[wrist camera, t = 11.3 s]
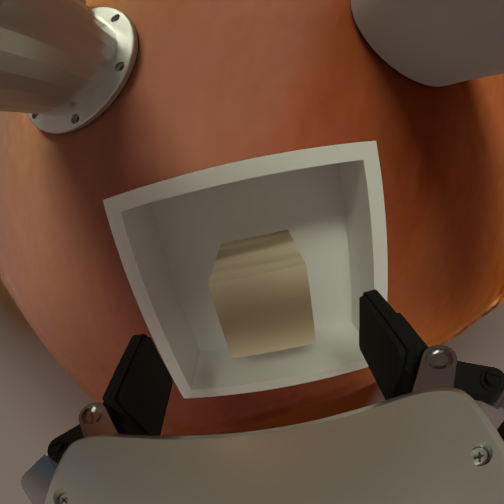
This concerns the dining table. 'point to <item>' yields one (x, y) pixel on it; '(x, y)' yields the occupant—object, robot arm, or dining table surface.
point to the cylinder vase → (435, 37)
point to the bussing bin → (249, 225)
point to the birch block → (262, 295)
